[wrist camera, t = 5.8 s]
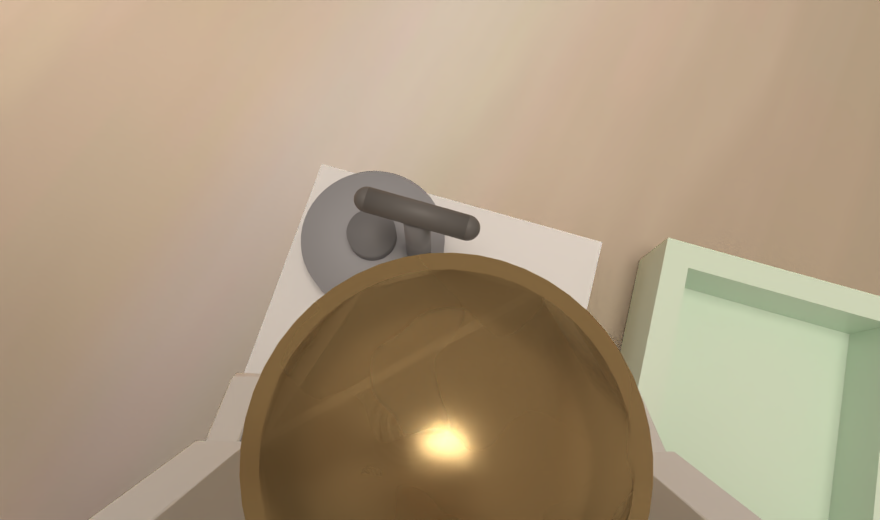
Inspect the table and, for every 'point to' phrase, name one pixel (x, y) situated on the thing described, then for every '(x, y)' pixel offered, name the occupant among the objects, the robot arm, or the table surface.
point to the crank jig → (405, 243)
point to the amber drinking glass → (446, 404)
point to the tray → (761, 380)
